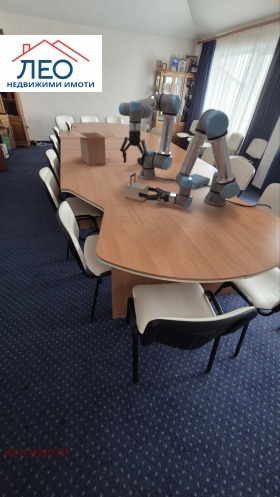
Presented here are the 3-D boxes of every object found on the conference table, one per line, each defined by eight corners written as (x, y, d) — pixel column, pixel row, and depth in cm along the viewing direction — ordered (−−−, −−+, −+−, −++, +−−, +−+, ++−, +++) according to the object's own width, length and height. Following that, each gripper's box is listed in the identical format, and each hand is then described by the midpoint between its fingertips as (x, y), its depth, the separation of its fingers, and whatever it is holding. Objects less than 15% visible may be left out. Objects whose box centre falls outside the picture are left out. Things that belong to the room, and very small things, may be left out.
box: (116, 165, 229) (116, 136, 213) (83, 168, 214) (80, 137, 198) (102, 154, 259) (101, 128, 243) (71, 156, 244) (68, 129, 228)
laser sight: (156, 166, 234) (157, 157, 228) (136, 164, 237) (136, 154, 231) (158, 164, 241) (159, 154, 236) (138, 162, 244) (138, 152, 238)
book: (194, 178, 210) (195, 173, 207) (209, 183, 201) (210, 178, 198) (179, 183, 196) (180, 178, 193) (194, 189, 188) (196, 183, 185)
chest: (125, 197, 166) (126, 186, 160) (131, 193, 173) (131, 182, 167) (142, 201, 162) (143, 190, 156) (147, 197, 169) (148, 186, 163)
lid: (125, 186, 161) (125, 174, 156) (131, 182, 168) (131, 171, 163) (143, 190, 156) (144, 178, 151) (148, 186, 163) (149, 175, 158)
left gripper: (115, 128, 142) (115, 162, 155) (150, 133, 135) (147, 168, 148) (120, 127, 148) (120, 159, 161) (155, 131, 141) (152, 166, 153)
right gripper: (163, 209, 149) (135, 202, 155) (174, 196, 167) (148, 190, 174) (164, 198, 144) (135, 191, 150) (175, 186, 163) (149, 181, 169)
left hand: (133, 164), depth 154 cm, fingers open, 13 cm apart
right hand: (142, 191), depth 162 cm, fingers open, 13 cm apart
